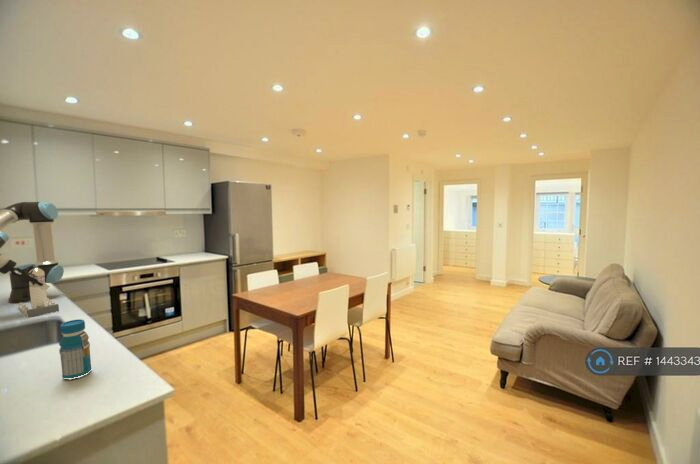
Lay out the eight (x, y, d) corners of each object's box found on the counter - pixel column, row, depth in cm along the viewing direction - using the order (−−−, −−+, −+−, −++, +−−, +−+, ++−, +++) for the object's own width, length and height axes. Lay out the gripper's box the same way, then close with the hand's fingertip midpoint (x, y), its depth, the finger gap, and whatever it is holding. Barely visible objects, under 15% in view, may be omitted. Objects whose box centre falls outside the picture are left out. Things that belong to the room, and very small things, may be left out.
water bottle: (37, 309, 182) (33, 267, 179) (28, 309, 183) (23, 266, 181) (50, 306, 188) (46, 264, 186) (41, 305, 190) (37, 264, 187)
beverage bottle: (67, 383, 111) (61, 328, 109) (58, 377, 115) (53, 324, 113) (96, 372, 118) (91, 320, 116) (86, 366, 122) (82, 316, 121)
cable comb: (18, 308, 192) (17, 302, 192) (47, 303, 203) (46, 297, 202) (28, 317, 177) (27, 310, 176) (59, 311, 187) (58, 304, 187)
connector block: (27, 316, 178) (26, 310, 178) (58, 310, 188) (57, 303, 188) (28, 317, 177) (27, 310, 176) (59, 311, 187) (58, 304, 187)
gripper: (-7, 268, 177) (36, 290, 191) (-1, 272, 165) (44, 295, 180) (6, 257, 181) (47, 279, 195) (12, 260, 169) (56, 284, 184)
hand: (46, 287), depth 188 cm, fingers closed on water bottle, 7 cm apart
